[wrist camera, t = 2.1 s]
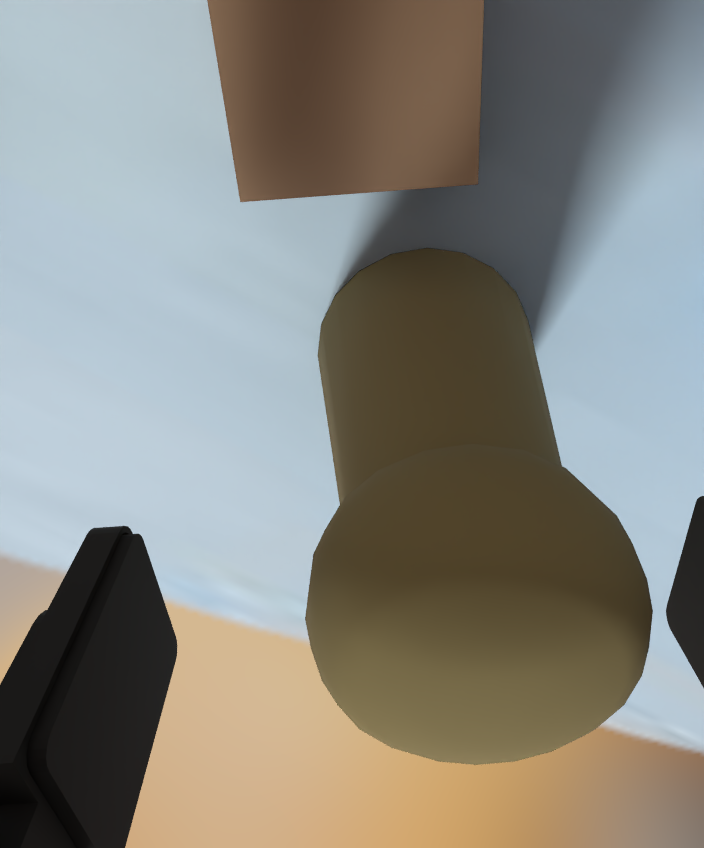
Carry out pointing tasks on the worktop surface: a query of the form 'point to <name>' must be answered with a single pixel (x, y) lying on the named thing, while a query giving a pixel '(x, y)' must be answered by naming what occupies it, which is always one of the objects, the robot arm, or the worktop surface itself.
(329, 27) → the notched board
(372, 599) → the cork
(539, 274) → the worktop surface
